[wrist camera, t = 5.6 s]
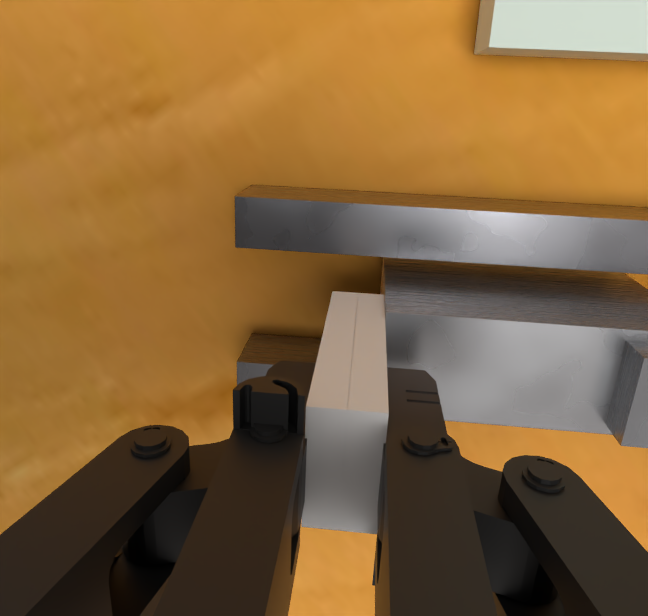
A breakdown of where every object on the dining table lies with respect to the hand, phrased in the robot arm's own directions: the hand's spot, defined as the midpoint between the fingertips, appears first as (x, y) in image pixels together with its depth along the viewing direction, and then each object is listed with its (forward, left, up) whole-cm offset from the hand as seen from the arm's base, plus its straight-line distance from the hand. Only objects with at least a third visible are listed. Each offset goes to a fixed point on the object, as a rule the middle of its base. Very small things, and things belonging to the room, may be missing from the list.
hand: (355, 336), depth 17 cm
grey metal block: (+5, 0, -4) cm, 6 cm away
